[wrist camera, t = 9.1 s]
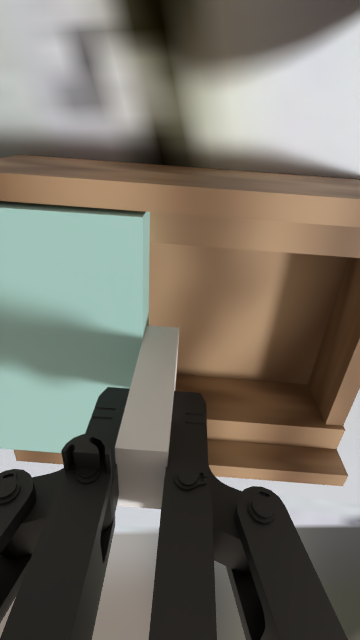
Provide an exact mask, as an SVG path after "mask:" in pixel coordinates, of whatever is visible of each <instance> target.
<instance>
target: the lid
mask: <svg viewBox="0 0 360 640" xmlns="http://www.w3.org/2000/svg"><path fill="white" fill-rule="evenodd" d="M149 252H150V212H145V211H131V210H118V209H104V208H91V207H77V206H64V205H50V204H37V203H23V202H10V201H0V449H13V450H27V451H40V452H53V453H61V450H62V449H63V447H64V446H65V444H66V443H67V442H69V441H70V440H71V439H73V438H74V437H77V436H79V435H82V434H85V432H86V430H87V427H88V424H89V421H90V419H91V416H92V413H93V410H94V409H95V405H96V402H97V400H98V397H99V395H100V394H101V393H102V392H103V391H104V390H105V389H106V388H107V387H116V388H129V389H130V387H131V383H132V379H133V375H134V371H135V367H136V363H137V360H138V356H139V352H140V348H141V344H142V340H143V337H144V333H145V329H146V325H148V326H149Z"/></svg>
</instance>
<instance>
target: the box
mask: <svg viewBox="0 0 360 640" xmlns="http://www.w3.org/2000/svg"><path fill="white" fill-rule="evenodd" d="M0 201H10V202H23V203H37V204H50V205H64V206H77V207H91V208H104V209H118V210H131V211H145V212H150V252H149V326H162V327H176V328H179V341H178V356H177V372H176V385H175V391H182V392H196V393H201V395H202V397H203V398H204V400H205V402H206V411H207V416H206V417H207V442H208V463H209V467H210V469H211V472H212V473H213V475H214V476H219V477H232V478H245V479H258V480H271V481H284V482H296V483H309V484H322V485H335V486H343V485H344V483H345V481H346V479H347V477H348V474H347V472H346V470H345V468H344V465H343V463H342V461H341V458H340V456H339V454H338V452H337V447H338V445H339V443H340V440H341V438H342V436H343V434H344V431H345V429H344V427H343V425H344V423H345V420H346V418H347V416H348V413H349V411H350V409H351V406H352V404H353V402H354V400H355V397H356V395H357V393H358V390H359V388H360V179H347V178H334V177H320V176H306V175H293V174H279V173H265V172H252V171H238V170H224V169H211V168H197V167H184V166H170V165H156V164H143V163H129V162H115V161H102V160H88V159H74V158H61V157H47V156H34V155H14V156H8V157H2V158H0ZM14 453H15V456H16V460H17V461H27V462H40V463H53V464H63V458H62V453H53V452H40V451H27V450H14Z"/></svg>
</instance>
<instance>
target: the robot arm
mask: <svg viewBox="0 0 360 640" xmlns="http://www.w3.org/2000/svg"><path fill="white" fill-rule="evenodd" d="M178 341H179V328H176V327H162V326H148V325H146V329H145V333H144V337H143V340H142V344H141V348H140V352H139V356H138V360H137V363H136V367H135V371H134V375H133V379H132V383H131V387H130V389H129V388H116V387H107V388H106V389H105V390H104V391H103V392H102V393H101V394H100V395H99V397H98V400H97V402H96V405H95V409H94V410H93V413H92V416H91V419H90V421H89V424H88V427H87V430H86V432H85V434H82V435H79V436H77V437H74V438H73V439H71V440H70V441H69V442H67V443H66V444H65V446H64V447H63V449H62V450H61V453H62V458H63V464H64V468H63V469H61V470H59V471H57V472H54V473H51V474H46V475H42V476H37V477H33V478H32V477H31V475H30V474H29V473H27V472H26V471H24V470H19V469H12V470H7V471H4V472H2V473H0V622H1V621H2V619H3V617H4V616H5V614H6V612H7V611H8V609H9V607H10V606H11V604H12V602H13V601H14V599H15V597H16V599H15V601H14V604H13V606H12V609H11V612H10V614H9V617H8V620H7V622H6V625H5V627H4V630H3V632H2V635H1V638H0V640H92V635H93V631H94V626H95V621H96V616H97V610H98V605H99V601H100V596H101V591H102V587H103V582H104V577H105V572H106V567H107V562H108V557H109V552H110V547H111V542H112V538H113V533H114V528H115V510H116V506H117V501H118V506H127V507H140V508H153V509H161V518H160V528H159V539H158V549H157V559H156V570H155V580H154V591H153V601H152V613H151V622H150V632H149V640H217V632H216V604H215V577H214V560H215V561H217V562H219V563H221V564H223V565H225V566H226V568H227V572H228V576H229V579H230V583H231V586H232V590H233V593H234V597H235V601H236V605H237V608H238V612H239V616H240V619H241V623H242V627H243V630H244V634H245V638H246V640H348V639H347V637H346V635H345V633H344V630H343V628H342V626H341V624H340V622H339V620H338V618H337V616H336V613H335V611H334V609H333V607H332V605H331V603H330V601H329V599H328V597H327V594H326V592H325V590H324V588H323V586H322V584H321V581H320V579H319V577H318V575H317V573H316V571H315V569H314V567H313V565H312V562H311V560H310V558H309V556H308V554H307V552H306V550H305V548H304V545H303V543H302V541H301V539H300V537H299V535H298V533H297V530H296V528H295V526H294V524H293V522H292V520H291V518H290V516H289V513H288V511H287V509H286V507H285V505H284V504H283V502H282V501H281V499H280V498H279V497H278V496H277V495H276V494H275V493H273V492H272V491H271V490H269V489H266V488H263V487H255V486H252V487H249V488H247V489H244V490H243V492H242V491H239V490H237V489H234V488H232V487H229V486H227V485H225V484H224V483H222V482H220V481H219V480H218V479H217V478H216V477H215V476H214V475H213V473H212V472H211V469H210V467H209V463H208V442H207V417H206V416H207V411H206V402H205V400H204V398H203V397H202V395H201V393H196V392H182V391H175V385H176V372H177V356H178Z"/></svg>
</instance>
